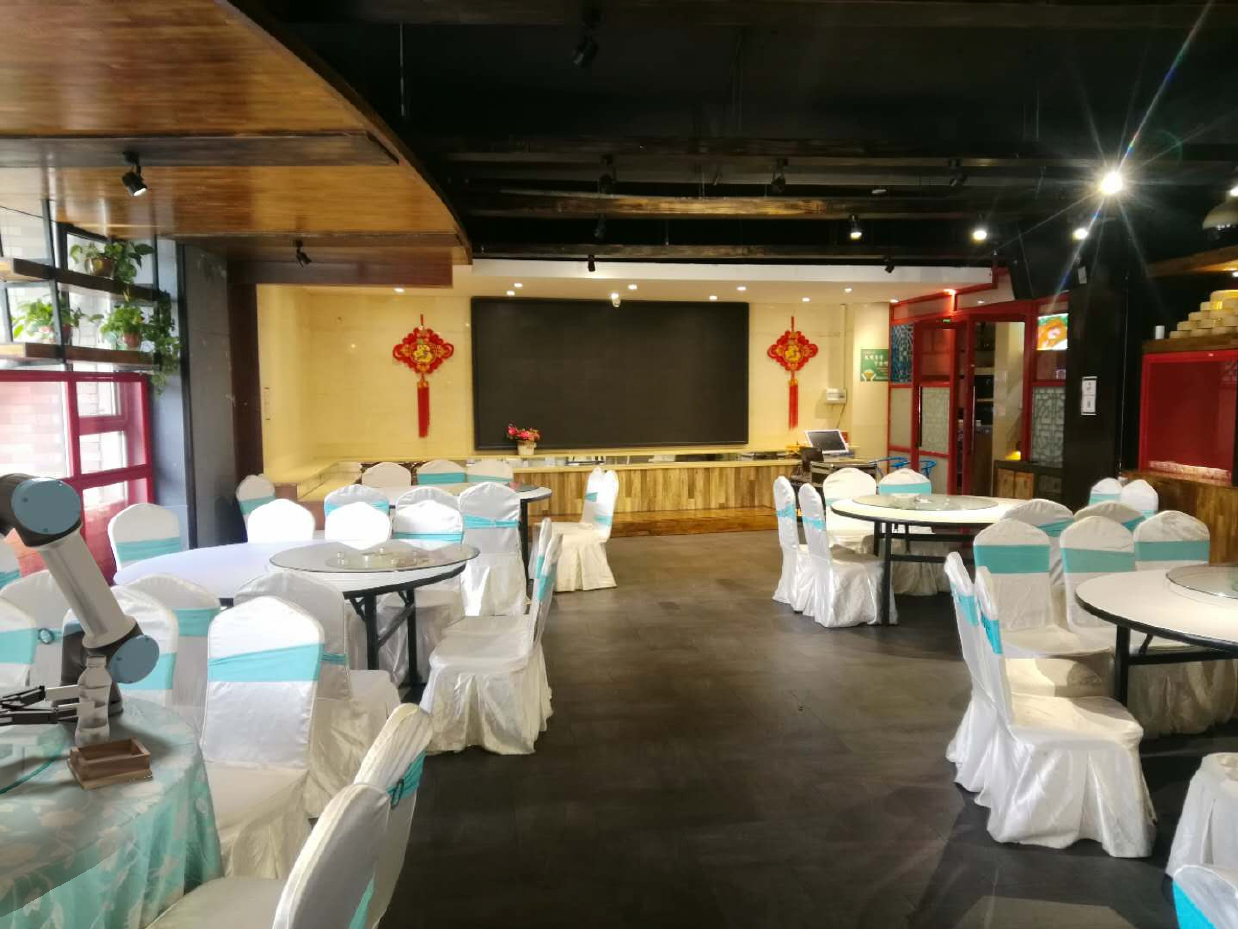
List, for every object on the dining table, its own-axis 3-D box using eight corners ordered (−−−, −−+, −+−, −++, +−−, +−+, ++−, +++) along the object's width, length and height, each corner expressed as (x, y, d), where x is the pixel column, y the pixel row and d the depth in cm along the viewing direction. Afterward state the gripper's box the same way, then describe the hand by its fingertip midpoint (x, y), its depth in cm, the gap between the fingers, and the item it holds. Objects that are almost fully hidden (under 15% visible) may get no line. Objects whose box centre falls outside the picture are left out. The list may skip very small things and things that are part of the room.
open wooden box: (67, 763, 176) (68, 744, 176) (131, 752, 184) (132, 734, 184) (84, 790, 164) (85, 770, 164) (152, 776, 173) (153, 757, 172)
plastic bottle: (92, 753, 182) (97, 662, 181) (66, 749, 183) (71, 658, 183) (116, 743, 188) (121, 655, 188) (90, 739, 190) (95, 651, 189)
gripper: (-43, 716, 179) (73, 700, 193) (-29, 753, 161) (99, 732, 175) (-41, 681, 179) (75, 668, 193) (-26, 714, 160) (101, 697, 175)
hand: (87, 698), depth 184 cm, fingers open, 13 cm apart
